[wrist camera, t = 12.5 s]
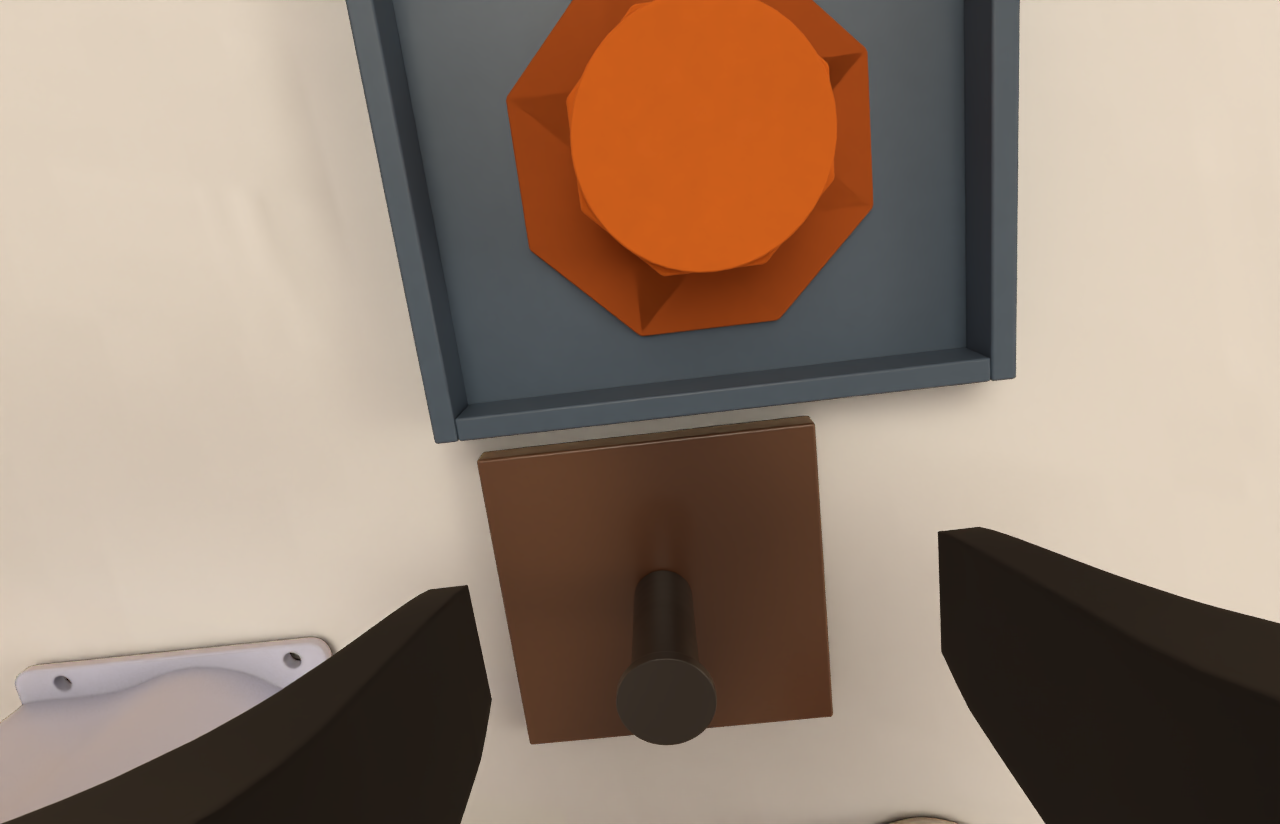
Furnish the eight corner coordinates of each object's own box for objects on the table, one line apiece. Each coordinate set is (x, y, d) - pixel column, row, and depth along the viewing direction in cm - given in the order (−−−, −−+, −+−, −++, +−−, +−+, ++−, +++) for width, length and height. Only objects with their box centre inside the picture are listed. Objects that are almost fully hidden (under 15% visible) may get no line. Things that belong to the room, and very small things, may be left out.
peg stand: (534, 727, 23) (497, 884, 17) (482, 451, 20) (423, 535, 15) (827, 700, 22) (882, 852, 17) (809, 414, 20) (866, 487, 15)
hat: (546, 345, 19) (518, 381, 15) (490, -14, 17) (440, -85, 13) (873, 306, 19) (934, 333, 15) (858, -66, 17) (926, -156, 13)
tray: (455, 422, 20) (434, 445, 18) (357, -82, 17) (320, -119, 15) (981, 362, 20) (1017, 379, 18) (980, -173, 16) (1023, -224, 15)
